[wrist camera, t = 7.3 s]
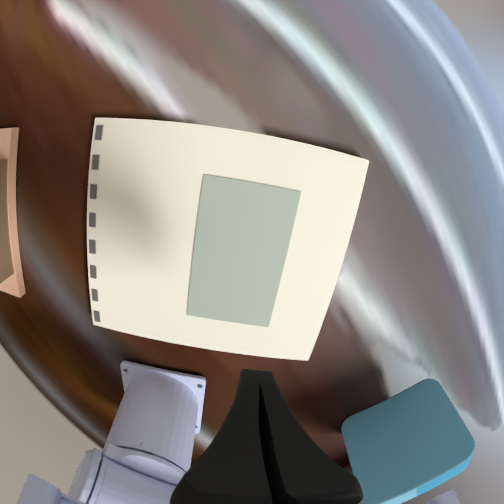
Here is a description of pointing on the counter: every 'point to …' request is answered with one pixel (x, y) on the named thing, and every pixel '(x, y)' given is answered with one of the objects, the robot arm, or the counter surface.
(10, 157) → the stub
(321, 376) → the counter surface
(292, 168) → the board
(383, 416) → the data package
